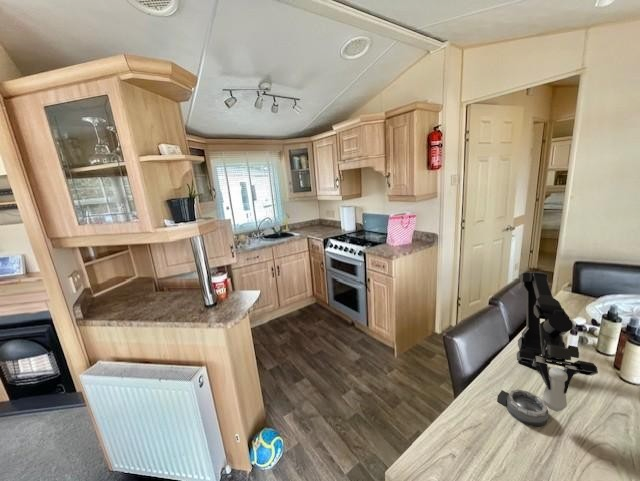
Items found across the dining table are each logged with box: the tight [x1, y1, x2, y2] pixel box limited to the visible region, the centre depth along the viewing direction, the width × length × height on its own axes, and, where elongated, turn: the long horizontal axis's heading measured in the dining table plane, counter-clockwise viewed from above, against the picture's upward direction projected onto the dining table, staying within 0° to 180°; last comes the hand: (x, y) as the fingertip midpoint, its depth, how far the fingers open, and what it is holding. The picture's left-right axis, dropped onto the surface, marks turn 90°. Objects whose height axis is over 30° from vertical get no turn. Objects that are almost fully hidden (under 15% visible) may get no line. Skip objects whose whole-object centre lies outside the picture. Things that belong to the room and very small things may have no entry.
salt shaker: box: [542, 366, 568, 412], centre depth 82 cm, size 6×6×13 cm
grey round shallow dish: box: [496, 389, 549, 428], centre depth 90 cm, size 13×11×4 cm
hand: (557, 391), depth 81 cm, fingers closed on salt shaker, 3 cm apart
